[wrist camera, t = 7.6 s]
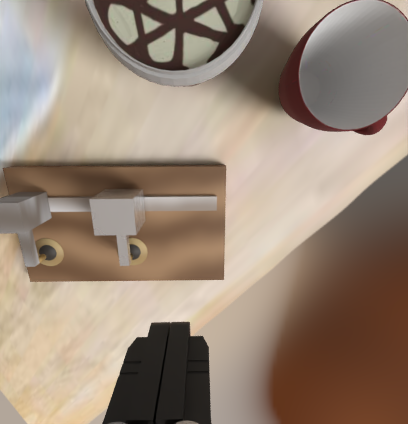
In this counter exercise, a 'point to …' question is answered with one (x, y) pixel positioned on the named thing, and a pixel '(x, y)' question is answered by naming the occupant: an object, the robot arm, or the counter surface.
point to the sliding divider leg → (118, 217)
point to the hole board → (107, 244)
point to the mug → (348, 69)
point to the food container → (176, 36)
